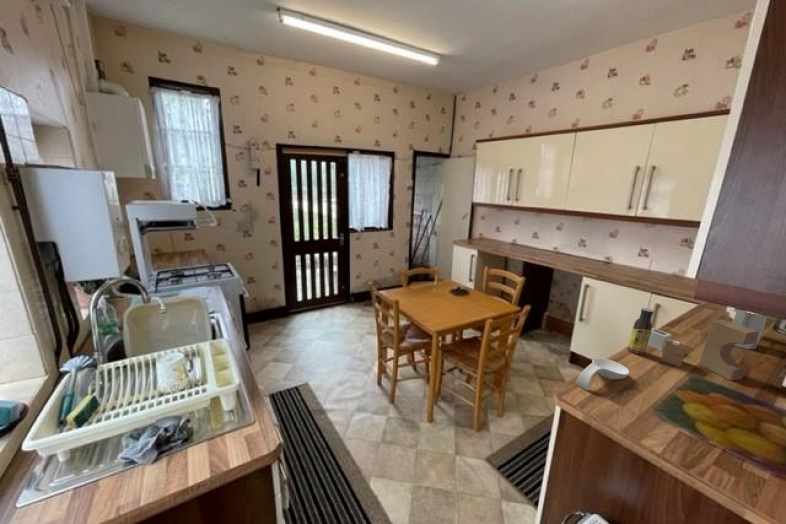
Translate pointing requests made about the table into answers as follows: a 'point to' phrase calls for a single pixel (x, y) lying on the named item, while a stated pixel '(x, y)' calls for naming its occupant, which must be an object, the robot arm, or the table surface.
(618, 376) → the spoon rest
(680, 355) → the walnut marked block
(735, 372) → the decorative block
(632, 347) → the sauce bottle
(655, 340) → the grey marked block
